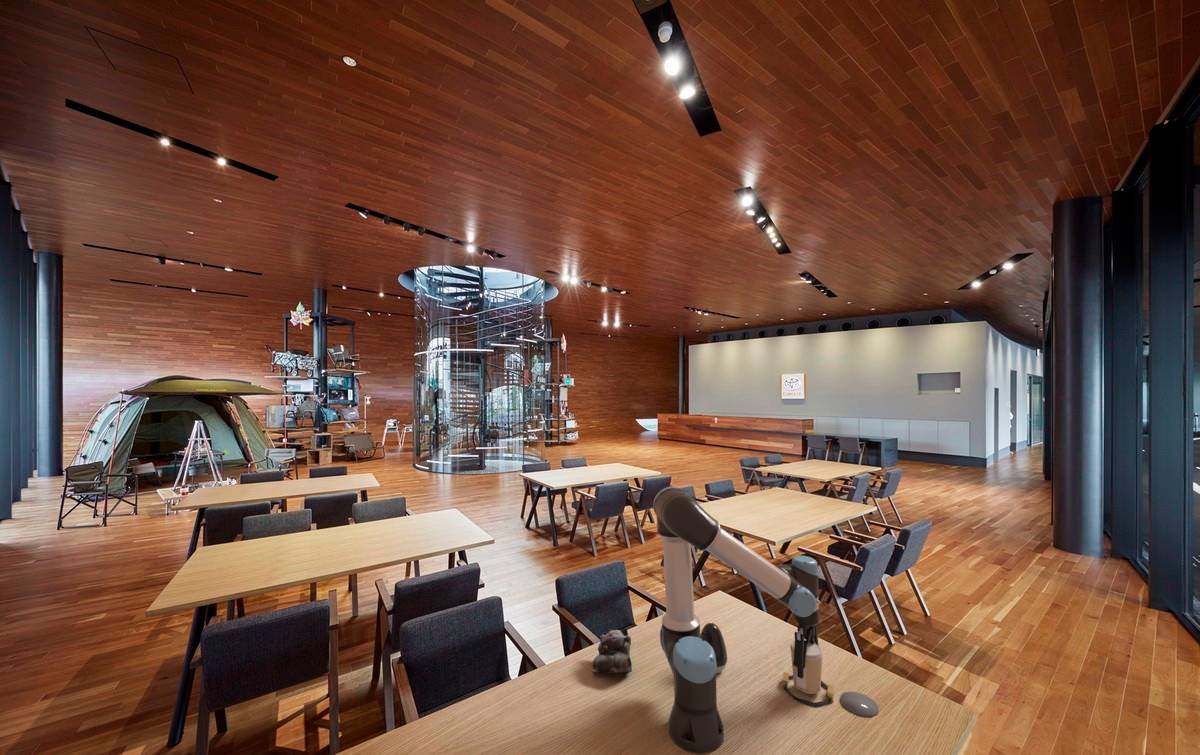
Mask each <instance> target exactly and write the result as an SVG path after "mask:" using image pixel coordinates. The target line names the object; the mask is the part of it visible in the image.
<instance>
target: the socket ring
mask: <svg viewBox="0 0 1200 755" xmlns="http://www.w3.org/2000/svg"><path fill="white" fill-rule="evenodd" d="M791 680H793V674H792V675H790V673H789V672H785V671H783V673H782V678H781V688H782V689H783V691H785V693H786V694H788V696H789V697H790V698H792V699H793V701H796V702H797V703H799V704H800V703H801V704H804V705H807V706H811V707H814V708H818V707H823V706H826V705H831V704H832V703H834V701H835V700H834V699H835V697H834V696H835V686H834V685H833V684H830V683H828V684H827V683H825V682H824V681H823V680H821V687H823V688H825V689H826V691H827V692H826V693H827V699H825V700H821V701H817V702H813V701H811V700H807V699H803V698H800V697H797V696H796V694H794V693H793V691H791V690H790V689H789V684H790V683H789V682H790V681H791Z"/></svg>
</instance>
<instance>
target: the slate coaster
mask: <svg viewBox="0 0 1200 755" xmlns="http://www.w3.org/2000/svg"><path fill="white" fill-rule="evenodd" d="M839 699H840V703H841V705H842V706H843V707H844V708H845V709H846V710H847V711H849V712H850V713H853V714H855V715H857V716H860V717H865V718H866V717H867V718H872V717H875V716H877V715H878V714H879V712H880V711H879V705H878V704H877V702H876V701H875V700H873V699H872V698H871V697H869V696H868V695H866V694H863V693H860V692H857V691H846V692H842V694H840V698H839Z"/></svg>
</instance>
